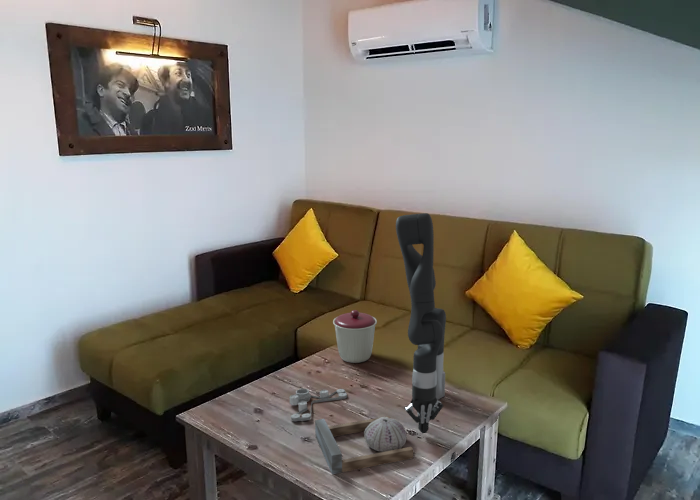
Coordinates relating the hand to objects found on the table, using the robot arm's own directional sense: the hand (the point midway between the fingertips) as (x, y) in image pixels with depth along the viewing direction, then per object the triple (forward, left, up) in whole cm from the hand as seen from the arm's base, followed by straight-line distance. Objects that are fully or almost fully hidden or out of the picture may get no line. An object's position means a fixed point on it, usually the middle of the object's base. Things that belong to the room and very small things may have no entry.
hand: (423, 431), depth 180 cm
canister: (+3, -63, -2) cm, 63 cm away
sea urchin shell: (+13, 0, -2) cm, 13 cm away
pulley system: (+29, -32, -2) cm, 43 cm away
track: (+20, 0, -2) cm, 20 cm away
